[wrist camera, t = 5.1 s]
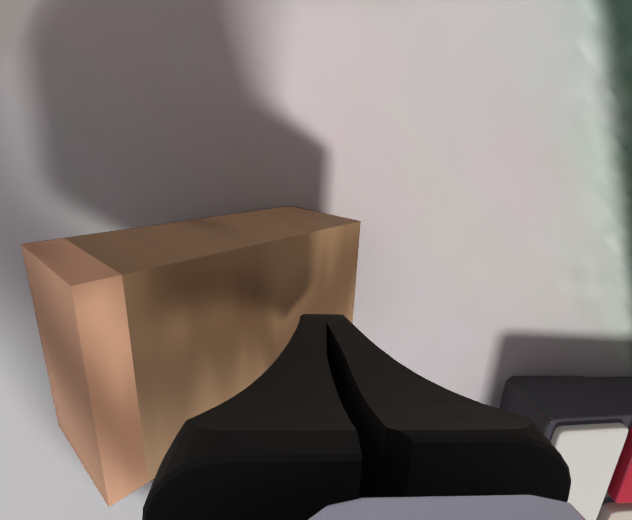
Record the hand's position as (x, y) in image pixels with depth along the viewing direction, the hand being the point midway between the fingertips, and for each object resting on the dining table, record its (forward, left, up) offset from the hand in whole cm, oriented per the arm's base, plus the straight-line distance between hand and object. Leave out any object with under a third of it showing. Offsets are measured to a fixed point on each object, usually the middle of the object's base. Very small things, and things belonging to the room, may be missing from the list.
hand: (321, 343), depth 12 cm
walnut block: (0, 0, -6) cm, 6 cm away
